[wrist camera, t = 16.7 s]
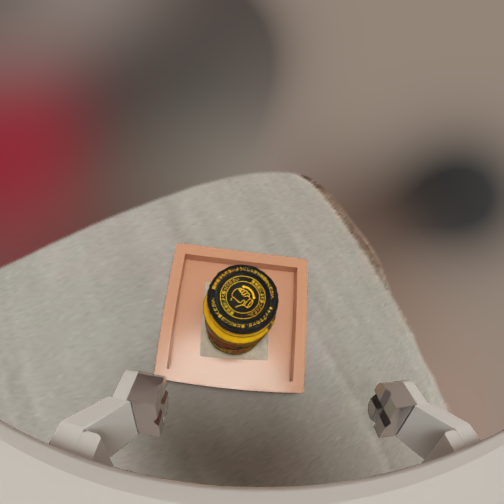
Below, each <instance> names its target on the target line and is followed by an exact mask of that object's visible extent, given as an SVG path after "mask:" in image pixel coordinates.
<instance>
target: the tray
mask: <svg viewBox="0 0 504 504" xmlns="http://www.w3.org/2000/svg"><path fill="white" fill-rule="evenodd" d="M241 264H242V265H250V266H254V267H257V268H258V269H260V270H261V271H263V272H265V274H267V275H268V276H269V277H270V278H271V279H272V280H273V282H274V283H275V286H276V287H277V292H278V298H279V303H278V308H277V312H276V318H275V321H274V324H273V326H272V327H271V329H270V330H269V331H268V360H256V359H233V358H218V357H206V356H200V344H201V330H202V318H203V304H204V303H203V301H204V294H205V283H206V282H212V280H213V278H214V277H215V276H216V275H217V273H218V272H220V271H222V270H224V269H226V268H227V267H229V266H233V265H241ZM306 327H307V259H299V258H291V257H284V256H276V255H268V254H260V253H252V252H244V251H236V250H228V249H220V248H212V247H204V246H196V245H188V244H181V243H177V245H176V250H175V254H174V259H173V264H172V269H171V274H170V279H169V284H168V290H167V295H166V300H165V306H164V312H163V318H162V324H161V330H160V337H159V343H158V350H157V357H156V364H155V372H154V374H157V375H162V376H166V378H167V380H169V381H175V382H182V383H188V384H195V385H202V386H210V387H219V388H228V389H239V390H251V391H265V392H286V393H303V392H304V375H305V354H306Z"/></svg>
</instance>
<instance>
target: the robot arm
mask: <svg viewBox="0 0 504 504" xmlns="http://www.w3.org/2000/svg"><path fill="white" fill-rule="evenodd" d="M166 386H167V378H166V376H162V375H157V374H151V373H146V372H141V371H135V370H131V369H127V370H125V371H124V373H123V375H122V378H121V380H120V382H119V384H118V386H117V388H116V390H115V392H114V394H113V396H112V397H110V396H108V397H106V398H104V399H102V400H100V401H99V402H97V403H95V404H93V405H91V406H89V407H87V408H85V409H83V410H82V411H80V412H78V413H76V414H74V415H72V416H70V417H68V418H66V419H64V420H62V421H61V423H60V424H59V426H58V428H57V430H56V431H55V433H54V435H53V437H52V439H51V441H50V442H49V444H48V443H45V442H43V441H41V440H39V439H37V438H34V437H32V436H30V435H28V434H26V433H24V432H22V431H20V430H18V429H16V428H14V427H12V426H11V425H9V424H7V423H5V422H3V421H1V420H0V504H504V430H502V431H500V432H498V433H496V434H494V435H492V436H490V437H488V438H486V439H483V440H480V439H479V438H478V436H477V435H476V433H475V432H474V430H473V429H472V427H471V426H470V424H469V423H467V422H465V421H463V420H461V419H459V418H457V417H455V416H454V415H452V414H450V413H448V412H446V411H444V410H442V409H441V408H439V407H437V406H435V405H433V404H431V403H427V402H426V400H425V399H424V397H423V396H422V394H421V393H420V392H419V390H418V389H417V387H416V386H415V384H414V383H413V381H411V380H410V379H409V380H402V381H395V382H386V383H379V384H378V385H377V386H376V388H375V393H376V394H375V395H374V396H373V397H372V398H371V399H370V401H369V404H368V415H369V417H370V419H371V420H372V421H374V422H375V425H374V429H375V431H376V433H377V435H378V437H379V438H383V437H390V436H396V437H397V438H399V439H400V440H401V441H402V442H403V443H405V444H406V445H407V446H408V447H409V448H411V449H412V450H413V451H414V452H416V453H417V454H418V455H419V456H421V457H422V458H423V459H424V460H423V461H422V463H421V464H418V465H414V466H411V467H407V468H403V469H400V470H396V471H392V472H388V473H383V474H379V475H374V476H369V477H364V478H359V479H353V480H347V481H340V482H333V483H325V484H315V485H304V486H287V487H237V486H220V485H208V484H199V483H191V482H183V481H177V480H170V479H165V478H159V477H154V476H149V475H144V474H140V473H136V472H131V471H127V470H123V469H120V468H116V467H114V466H113V464H112V462H111V460H110V457H111V456H112V455H114V454H115V453H116V452H117V451H119V450H120V449H121V448H122V447H123V446H125V445H126V444H127V443H128V442H129V441H131V440H132V439H133V438H134V437H136V436H137V435H138V433H140V434H146V435H151V436H157V437H161V433H162V429H163V425H164V422H163V417H164V416H166V413H167V408H168V392H167V391H166Z"/></svg>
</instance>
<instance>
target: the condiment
mask: <svg viewBox="0 0 504 504" xmlns="http://www.w3.org/2000/svg"><path fill="white" fill-rule="evenodd" d="M203 303H204V304H203V318H202V330H201V344H200V356H206V357H218V358H233V359H256V360H268V331H269V330H270V329H271V327H272V326H273V324H274V321H275V318H276V312H277V308H278V303H279V298H278V292H277V287H276V286H275V283H274V282H273V280H272V279H271V278H270V277H269V276H268V275H267V274H265V272H263V271H261V270H260V269H258V268H257V267H254V266H250V265H242V264H241V265H233V266H229V267H227V268H226V269H224V270H222V271H220V272H218V273H217V275H216V276H215V277H214V278H213V280H212V282H206V283H205V294H204V301H203Z"/></svg>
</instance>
